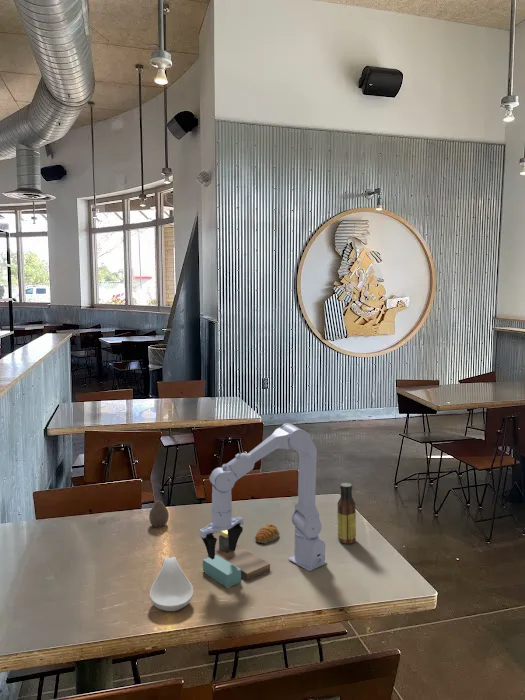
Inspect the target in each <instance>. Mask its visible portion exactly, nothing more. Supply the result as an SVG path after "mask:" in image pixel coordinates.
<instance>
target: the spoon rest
mask: <svg viewBox="0 0 525 700" xmlns="http://www.w3.org/2000/svg"><path fill="white" fill-rule="evenodd" d="M194 592H195V591H194V587H193V584H192V583H191V581H190V580H189V578H188V577H187V575H186V574H185V572H184V571H183V570H182V568H181V566H180V564H179V563H178V561H177V558H176V556H172V557H164V558H163V561H162V564H161V568H160V570H159V572H158V573H157V576H156V578H154V581H153V583H152V585H151V587H150V590H149V596H148V597H149V600H150V602H151V603H152V604H153V606H155V607H156V608H157V609H159V610H161V611H165V612H175V611H179V610H181V609H182V608H185V607H186V606H187V605H188V604H189V603H190V602H191V601H192V599H193V596H194V594H195V593H194Z"/></svg>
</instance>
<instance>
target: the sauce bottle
mask: <svg viewBox="0 0 525 700" xmlns="http://www.w3.org/2000/svg"><path fill="white" fill-rule="evenodd" d="M339 488H340V498H339V499H338V501H337V512H336V513H337V540H338V541H339V542H340V543H342V544H346V545H349V544H350V545H351V544H354V543H356V540H357V514H356V513H357V512H356V511H357V510H356V502H355V500H354V498H353V495H352V493H353V492H352V490H353V484H352V483H349V482H342V483H340V485H339Z"/></svg>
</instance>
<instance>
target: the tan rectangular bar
mask: <svg viewBox="0 0 525 700" xmlns="http://www.w3.org/2000/svg"><path fill="white" fill-rule="evenodd" d="M215 534H217V535H218V536H220V535H221V536H222V537H224V538H226V539H227V538H228V531H227V530H225V531H219V532H216V533H215Z"/></svg>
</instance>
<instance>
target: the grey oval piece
mask: <svg viewBox="0 0 525 700" xmlns="http://www.w3.org/2000/svg"><path fill="white" fill-rule="evenodd" d="M148 514H149V515H148V516H149V517H148V519H149V523H150V524H151V525H152V527H154V528H157V527H160V528H162V526H163V527H165V526H166V525H167V523H168V521H169V510H168V508H167V506H165V505H164V503H163V501H161V500H158V501H157V500H156V501H155V503H154V504H153V505H152V507H151V509H150V510H149V513H148Z"/></svg>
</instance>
